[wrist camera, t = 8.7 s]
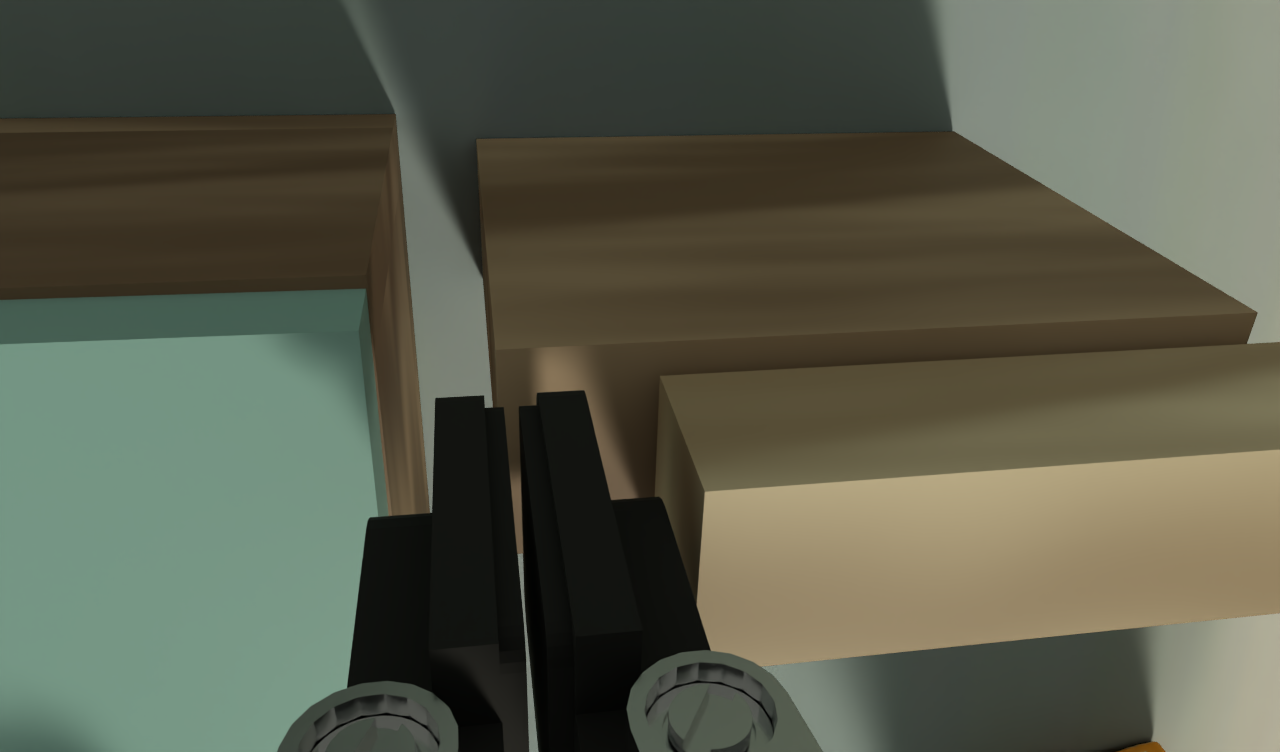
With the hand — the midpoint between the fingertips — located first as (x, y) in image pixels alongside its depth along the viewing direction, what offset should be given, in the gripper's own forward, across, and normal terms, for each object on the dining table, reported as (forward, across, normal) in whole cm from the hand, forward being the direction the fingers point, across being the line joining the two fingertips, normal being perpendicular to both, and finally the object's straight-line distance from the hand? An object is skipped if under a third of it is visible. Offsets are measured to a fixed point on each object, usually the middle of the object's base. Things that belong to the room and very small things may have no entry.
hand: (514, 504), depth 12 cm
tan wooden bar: (+1, -7, 0) cm, 7 cm away
